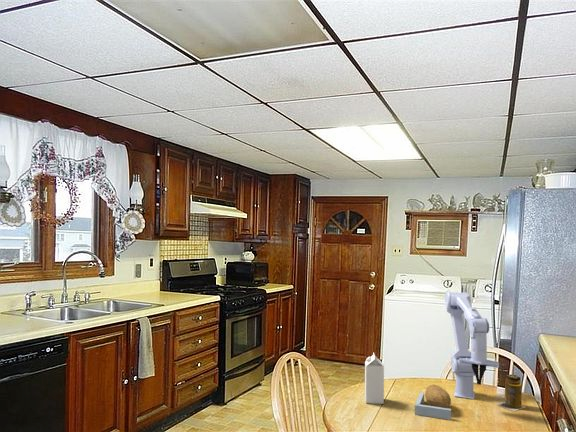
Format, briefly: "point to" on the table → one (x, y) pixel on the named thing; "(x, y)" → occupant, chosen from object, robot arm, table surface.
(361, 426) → the table surface
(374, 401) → the milk carton
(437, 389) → the potato
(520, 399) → the condiment
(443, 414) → the corner walls
